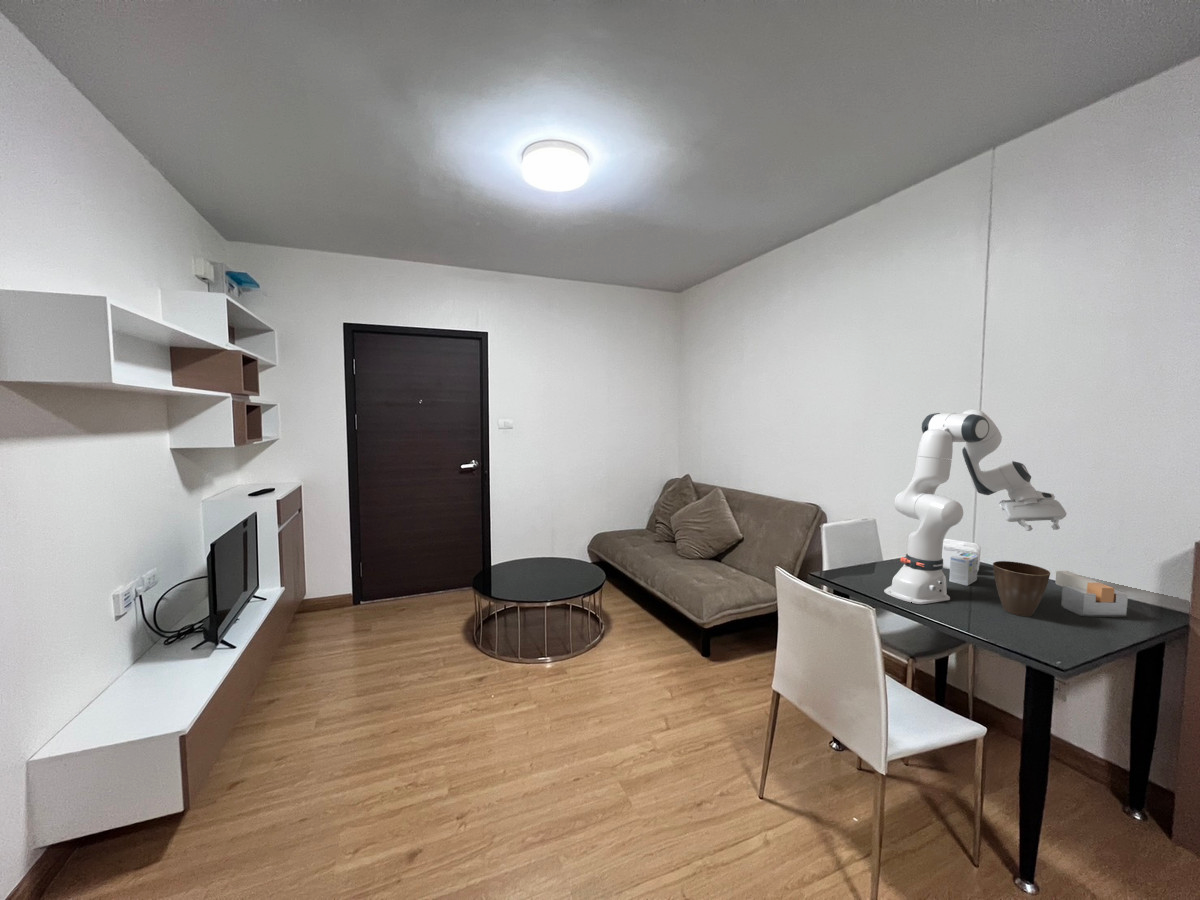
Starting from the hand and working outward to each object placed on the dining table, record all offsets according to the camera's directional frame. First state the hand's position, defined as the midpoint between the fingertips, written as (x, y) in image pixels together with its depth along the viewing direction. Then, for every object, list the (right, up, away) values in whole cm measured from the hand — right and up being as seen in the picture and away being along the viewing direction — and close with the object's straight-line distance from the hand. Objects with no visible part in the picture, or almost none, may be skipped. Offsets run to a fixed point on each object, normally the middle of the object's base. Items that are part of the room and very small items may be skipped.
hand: (1043, 529), depth 184 cm
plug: (-2, -20, -17) cm, 26 cm away
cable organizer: (-15, -22, +25) cm, 36 cm away
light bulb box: (-24, -23, +10) cm, 35 cm away
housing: (-2, -25, -20) cm, 33 cm away
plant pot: (-28, -26, -20) cm, 43 cm away
